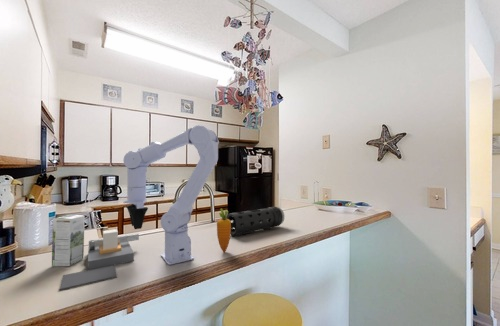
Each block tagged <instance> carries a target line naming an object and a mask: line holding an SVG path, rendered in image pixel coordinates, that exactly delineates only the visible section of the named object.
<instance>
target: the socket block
mask: <svg viewBox="0 0 500 326" xmlns="http://www.w3.org/2000/svg"><path fill="white" fill-rule="evenodd" d="M129 242H130V241H129ZM129 242H122V243H120V245H121V250H120V251H114V252H109V253H103V254H100V252H99V246H98V247H95V249H94V250H89V246H88V249H87V253H88V254H87V270H91V269H95V268H100V267H105V266H110V265H114V266H115V265H120V264H124V263H125V264H126V263H129V262H134V261H135V251H134V250H133V248H132V246H131V245H130V243H129Z"/></svg>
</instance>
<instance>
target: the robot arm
mask: <svg viewBox="0 0 500 326" xmlns="http://www.w3.org/2000/svg"><path fill="white" fill-rule="evenodd" d="M219 144H220V141H219V138H218V135H217V134H216V132H215V131H214V130H212V129H209V128H207V127H206V126H203V125H195V126H194V127H190V128H187V129H186V130H185V131H183V132H181V133H179V134H177V135H175V136H173V137H172V138H169V139H167V140H166V141H164V142H162V143H160V142H158V141H156V142H154V141H151V142H149V145H147V146H145V147H143V148H142V147H141V148H140V147H139V148H138V149H137V151H134V150H130V151H128V152H126V153H125V155H124V156H123V160H122V161H123V164H124V166H125V168H127V171H126V172H127V175H126V176H127V180H126V181H127V186H126V188H127V196H126V197H127V199H126V200H123V201H122V202H123V204H129V205H126V206H125V207H126V209H127V212H128V214H129V219H130V223H131V226H132V227H133V228H134V230H139V229H142V228H143V223H144V220H145V216H146V213H147V212H148V209H149V207H148V206H145V203H147V169H148V167H149V166H150V165H151V164H153V163H155V162H157V161H159V160H162V159H164V158H165V157H166V154H167V153H168V152H172V151H174V150H176V149H178V148H181V147H184V146H186V145H189V146H190V145H191V146H194V148H195V149H196V150H197V153H198V156H199V160H198V162H197V164H196V166H195V168H194V170H192V173H191V175H190V176H189V179H188V180H187V182H186V183H185V185H184V188H183V189H182V191H181V193H180V195H179V197H178V198H177V200H176V201H175V202H174V203H173V204H171V206H170V207H169V209H168V210H167V212H165V213H164V214H162V216H161V217H160V225H161V228H162V229H163V230H164V253H162V254H160V256H161V257H162V259H163V260H164V261H165V262H166V263H167V265H169V266H171V265H174V264H179V263H183V262H188V261H192V260H194V259H195V258H194V256H192V240H191V237H190V236H189V232H188V230H189V229H188V227H189V226H188V224H189V223H190V221H191V217H192V212H193V211H194V207H193V205H194V204H195V202H196V200H197V199H198V197H199V195H200V193H201V191H202V189H203V188H204V185H206V182H207V181H208V178H209V177H210V175H211V173H212V172H213V170H214V168H215V167H216V164H217V163H218V160H219Z"/></svg>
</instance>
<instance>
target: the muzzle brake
mask: <svg viewBox="0 0 500 326" xmlns="http://www.w3.org/2000/svg"><path fill="white" fill-rule="evenodd" d="M226 219H229V220H230V221H231V234H230V237H237V236H242V235H246V234H251V233H255V232H256V231H259V230H263V231H268V230H271V228H276V227H280V225H282V224H283V223H284V221H285V213H284V211H283V209H282V208H281V207H278V206H271V207H270V206H269V207H266V208H260V209H253V210H246V211H245V210H244V211H238V212H230V213H228V214H227V217H226Z"/></svg>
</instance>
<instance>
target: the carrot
mask: <svg viewBox="0 0 500 326" xmlns="http://www.w3.org/2000/svg"><path fill="white" fill-rule="evenodd" d="M219 210H220V212H219V213H218V214H219V216H220V219H218V220H217V221H216V233H217V234H216V235H217V240H218V244H219V247H220V249H221V251H222V252H223V253H225V252H226V251H227V250H228V247H229V243H230V240H231V223H232V221H230V220H229V219H226V217H227V215H228V214H229V211H228V210H227V209H225V210H223V208H220V209H219Z"/></svg>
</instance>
